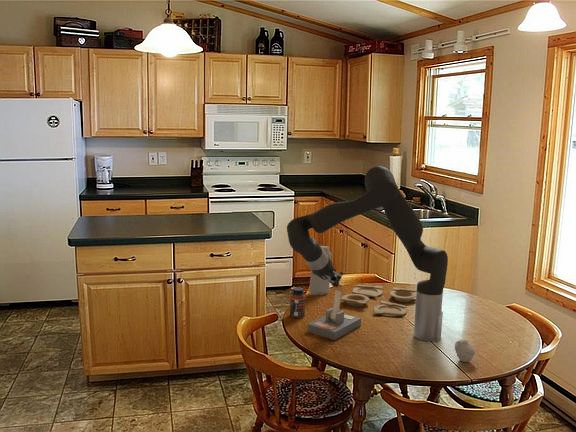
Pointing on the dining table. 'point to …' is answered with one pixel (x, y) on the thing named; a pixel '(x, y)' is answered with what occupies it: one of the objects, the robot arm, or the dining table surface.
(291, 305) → the supplement bottle
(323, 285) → the tall pale column
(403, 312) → the tableware set
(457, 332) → the dining table surface
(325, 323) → the switch block
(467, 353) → the frog figurine
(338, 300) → the breaker lever
